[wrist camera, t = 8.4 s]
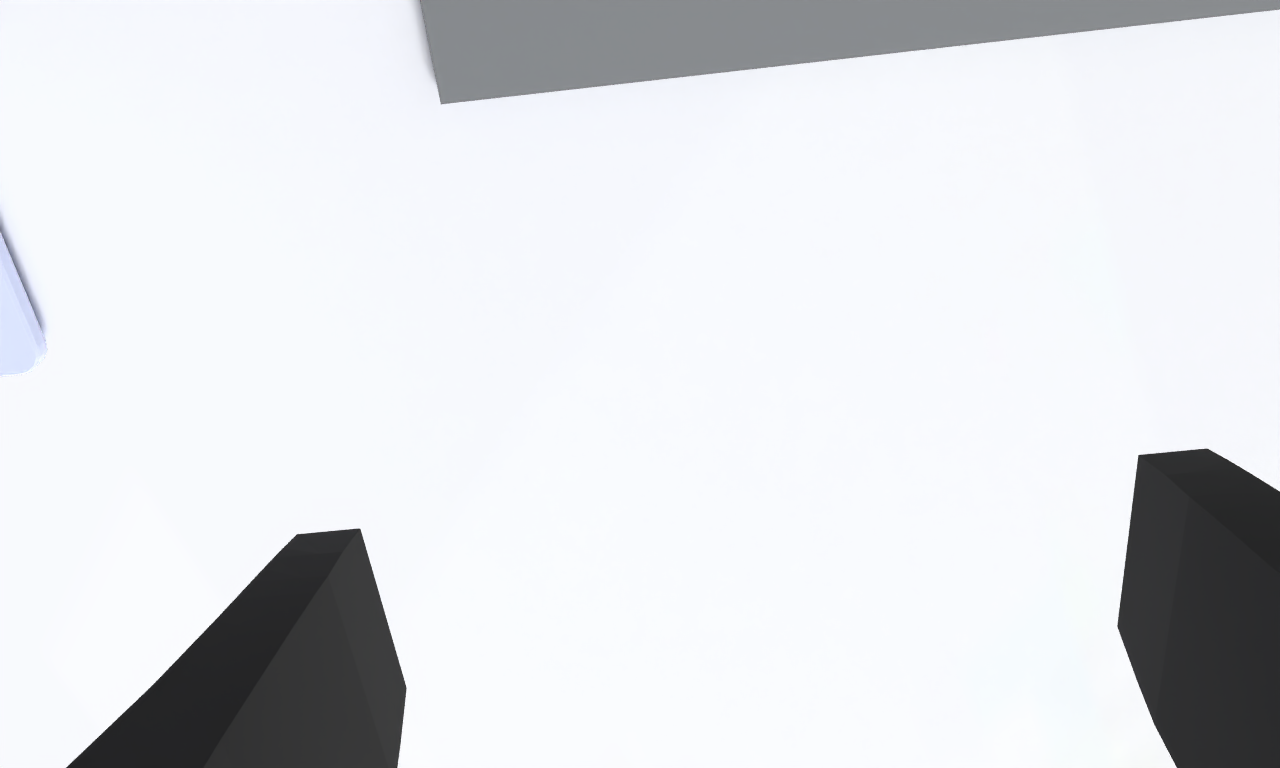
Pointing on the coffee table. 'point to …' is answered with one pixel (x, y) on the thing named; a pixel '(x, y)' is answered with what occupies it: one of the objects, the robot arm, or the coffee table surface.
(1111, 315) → the coffee table surface
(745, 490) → the coffee table surface
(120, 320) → the coffee table surface
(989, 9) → the mat
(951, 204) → the coffee table surface
